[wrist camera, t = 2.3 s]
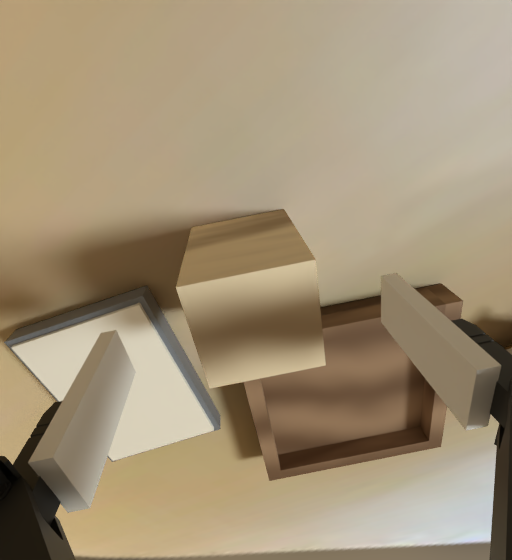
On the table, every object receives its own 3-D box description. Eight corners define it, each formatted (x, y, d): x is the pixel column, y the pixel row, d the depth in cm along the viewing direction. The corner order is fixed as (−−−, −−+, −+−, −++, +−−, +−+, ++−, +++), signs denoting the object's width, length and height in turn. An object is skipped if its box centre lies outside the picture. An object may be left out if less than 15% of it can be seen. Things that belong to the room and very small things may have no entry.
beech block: (191, 227, 21) (175, 287, 14) (283, 208, 21) (315, 259, 14) (213, 305, 23) (209, 388, 16) (294, 289, 23) (325, 365, 16)
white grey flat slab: (16, 329, 23) (1, 345, 21) (146, 285, 22) (141, 298, 21) (116, 446, 29) (111, 464, 28) (220, 415, 29) (220, 432, 27)
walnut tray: (232, 325, 24) (233, 346, 22) (441, 283, 24) (463, 300, 22) (266, 455, 32) (269, 480, 30) (425, 423, 32) (440, 446, 30)
